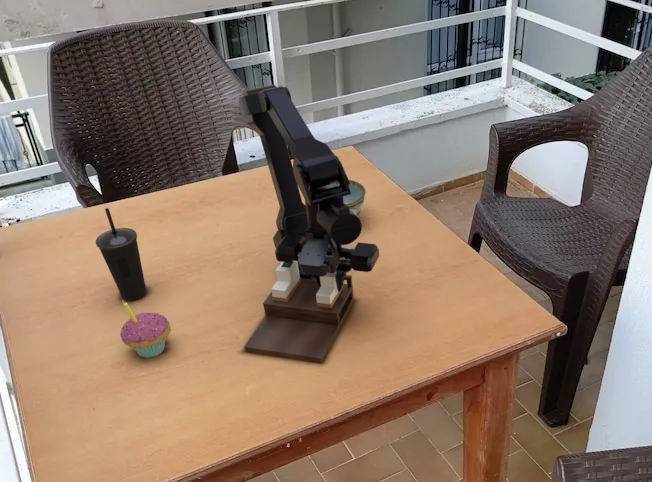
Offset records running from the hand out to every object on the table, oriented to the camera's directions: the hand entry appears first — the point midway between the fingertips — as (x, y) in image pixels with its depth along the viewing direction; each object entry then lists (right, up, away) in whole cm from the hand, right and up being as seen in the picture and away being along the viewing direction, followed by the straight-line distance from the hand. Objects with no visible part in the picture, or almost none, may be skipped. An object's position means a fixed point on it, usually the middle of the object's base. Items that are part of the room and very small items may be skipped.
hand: (331, 289), depth 133 cm
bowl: (-2, +16, +32) cm, 36 cm away
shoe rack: (-6, -7, -1) cm, 9 cm away
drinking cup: (-42, -1, +9) cm, 43 cm away
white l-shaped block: (-9, 0, +2) cm, 9 cm away
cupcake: (-33, -11, -5) cm, 35 cm away
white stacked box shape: (0, -1, 0) cm, 1 cm away
